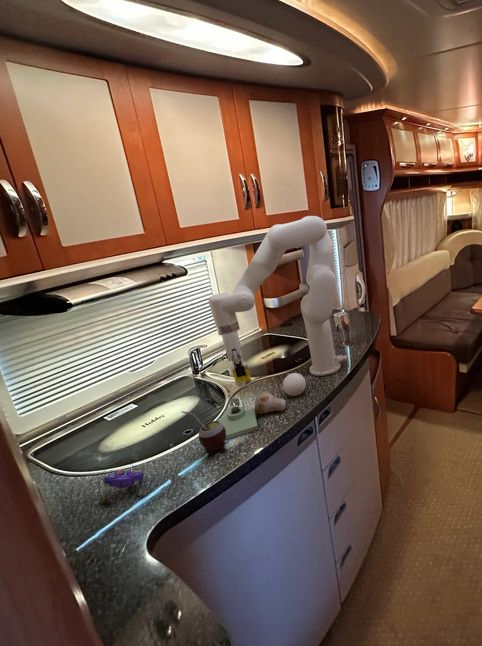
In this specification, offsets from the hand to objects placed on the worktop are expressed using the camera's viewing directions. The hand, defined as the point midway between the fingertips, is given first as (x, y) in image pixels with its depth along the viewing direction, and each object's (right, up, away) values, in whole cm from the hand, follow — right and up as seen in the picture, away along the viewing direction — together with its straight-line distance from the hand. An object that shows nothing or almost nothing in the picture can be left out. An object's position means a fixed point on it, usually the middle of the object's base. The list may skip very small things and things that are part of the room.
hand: (241, 372), depth 139 cm
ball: (+22, -7, -6) cm, 24 cm away
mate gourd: (+4, -17, -32) cm, 37 cm away
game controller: (-13, -23, -44) cm, 52 cm away
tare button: (+5, -10, -18) cm, 21 cm away
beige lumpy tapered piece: (+16, -11, -14) cm, 24 cm away
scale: (+6, -13, -21) cm, 26 cm away
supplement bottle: (+1, -5, +2) cm, 5 cm away
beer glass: (+36, +7, +35) cm, 51 cm away
